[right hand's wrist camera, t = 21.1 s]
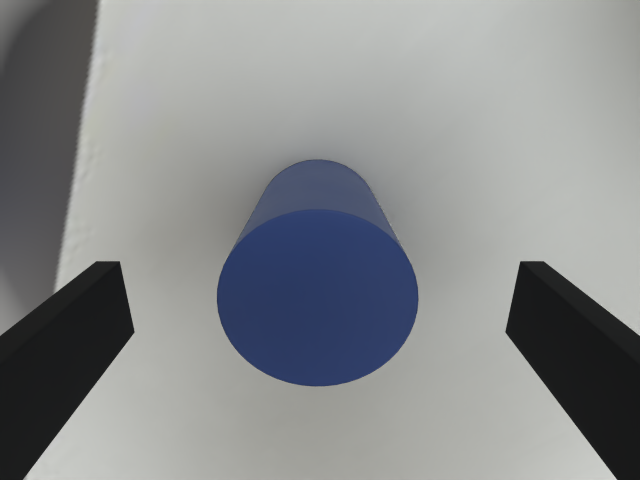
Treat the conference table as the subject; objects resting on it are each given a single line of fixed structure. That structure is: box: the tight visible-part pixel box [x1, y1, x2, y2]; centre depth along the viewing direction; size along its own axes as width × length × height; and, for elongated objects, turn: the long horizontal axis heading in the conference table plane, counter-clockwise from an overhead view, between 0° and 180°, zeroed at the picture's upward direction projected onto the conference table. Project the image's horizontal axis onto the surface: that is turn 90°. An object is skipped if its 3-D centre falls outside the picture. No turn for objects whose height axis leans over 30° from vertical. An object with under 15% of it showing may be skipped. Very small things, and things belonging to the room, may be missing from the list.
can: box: [217, 160, 418, 386], centre depth 18 cm, size 7×7×10 cm
